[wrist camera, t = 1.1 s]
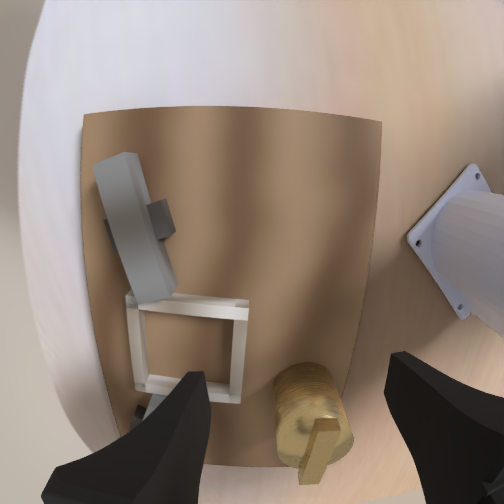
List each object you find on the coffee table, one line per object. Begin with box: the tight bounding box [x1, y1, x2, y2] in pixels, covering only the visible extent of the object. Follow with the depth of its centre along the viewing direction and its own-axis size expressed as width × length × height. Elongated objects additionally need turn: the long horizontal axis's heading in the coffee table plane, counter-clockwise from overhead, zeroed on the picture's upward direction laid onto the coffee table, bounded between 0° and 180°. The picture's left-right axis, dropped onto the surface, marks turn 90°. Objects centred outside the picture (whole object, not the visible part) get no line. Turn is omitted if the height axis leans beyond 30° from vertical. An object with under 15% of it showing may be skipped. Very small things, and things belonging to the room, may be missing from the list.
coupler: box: [272, 362, 354, 485], centre depth 17 cm, size 5×4×7 cm
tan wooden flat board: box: [81, 106, 382, 467], centre depth 19 cm, size 18×28×4 cm, turn 177°
